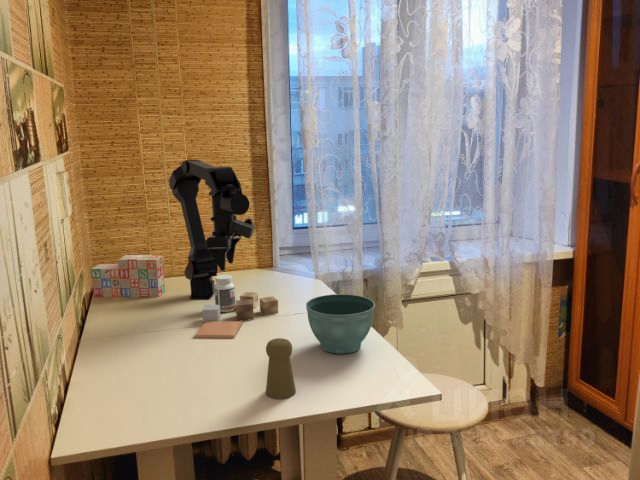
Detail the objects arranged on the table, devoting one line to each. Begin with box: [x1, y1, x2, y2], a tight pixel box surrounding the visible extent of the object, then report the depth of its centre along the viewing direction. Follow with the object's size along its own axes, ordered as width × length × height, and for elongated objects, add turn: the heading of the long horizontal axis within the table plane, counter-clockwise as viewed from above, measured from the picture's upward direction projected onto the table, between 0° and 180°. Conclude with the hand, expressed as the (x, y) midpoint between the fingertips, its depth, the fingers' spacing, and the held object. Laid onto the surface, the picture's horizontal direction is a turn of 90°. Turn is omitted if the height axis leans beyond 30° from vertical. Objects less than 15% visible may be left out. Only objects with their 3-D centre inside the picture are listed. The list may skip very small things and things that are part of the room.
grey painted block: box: [202, 304, 221, 323], centre depth 160 cm, size 4×4×4 cm
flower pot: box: [305, 293, 376, 355], centre depth 139 cm, size 16×16×11 cm
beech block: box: [239, 291, 260, 310], centre depth 171 cm, size 4×4×4 cm
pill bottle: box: [214, 274, 236, 313], centre depth 169 cm, size 6×6×10 cm
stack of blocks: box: [90, 254, 166, 298], centre depth 186 cm, size 21×6×12 cm, turn 85°
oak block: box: [259, 296, 279, 316], centre depth 166 cm, size 4×4×4 cm
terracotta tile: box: [194, 320, 243, 339], centre depth 153 cm, size 10×10×1 cm
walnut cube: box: [235, 299, 255, 322], centre depth 162 cm, size 4×4×4 cm
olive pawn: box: [265, 337, 297, 400], centre depth 117 cm, size 6×6×11 cm
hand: (227, 266), depth 167 cm, fingers open, 9 cm apart
